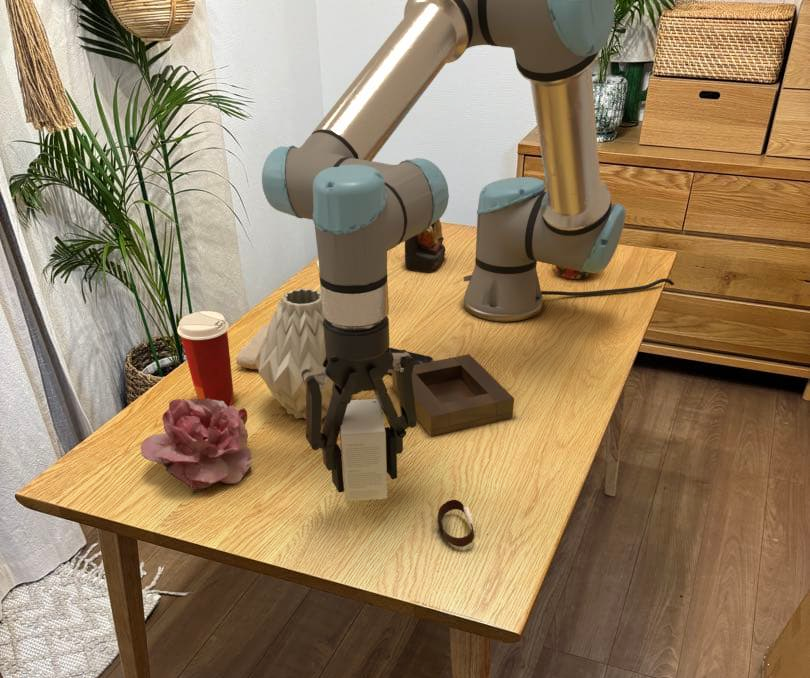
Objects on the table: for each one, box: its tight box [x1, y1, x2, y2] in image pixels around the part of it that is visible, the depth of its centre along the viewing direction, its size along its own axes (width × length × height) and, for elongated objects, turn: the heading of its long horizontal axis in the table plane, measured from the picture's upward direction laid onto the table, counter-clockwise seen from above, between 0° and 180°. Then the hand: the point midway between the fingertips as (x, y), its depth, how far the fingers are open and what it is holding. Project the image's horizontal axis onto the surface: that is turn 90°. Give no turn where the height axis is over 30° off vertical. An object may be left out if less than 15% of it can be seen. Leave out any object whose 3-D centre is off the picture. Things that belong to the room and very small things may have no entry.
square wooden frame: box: [391, 353, 515, 437], centre depth 126 cm, size 14×16×4 cm
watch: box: [437, 499, 477, 548], centre depth 101 cm, size 8×5×4 cm, turn 12°
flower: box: [140, 397, 252, 490], centre depth 111 cm, size 15×15×10 cm
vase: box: [255, 287, 334, 420], centre depth 121 cm, size 16×16×18 cm
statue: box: [404, 218, 446, 273], centre depth 167 cm, size 12×8×20 cm, turn 154°
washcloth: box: [236, 322, 270, 370], centre depth 140 cm, size 12×18×3 cm, turn 164°
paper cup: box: [176, 310, 235, 407], centre depth 124 cm, size 8×8×14 cm
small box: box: [339, 398, 388, 502], centre depth 102 cm, size 8×6×10 cm
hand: (364, 479), depth 105 cm, fingers closed on small box, 7 cm apart
